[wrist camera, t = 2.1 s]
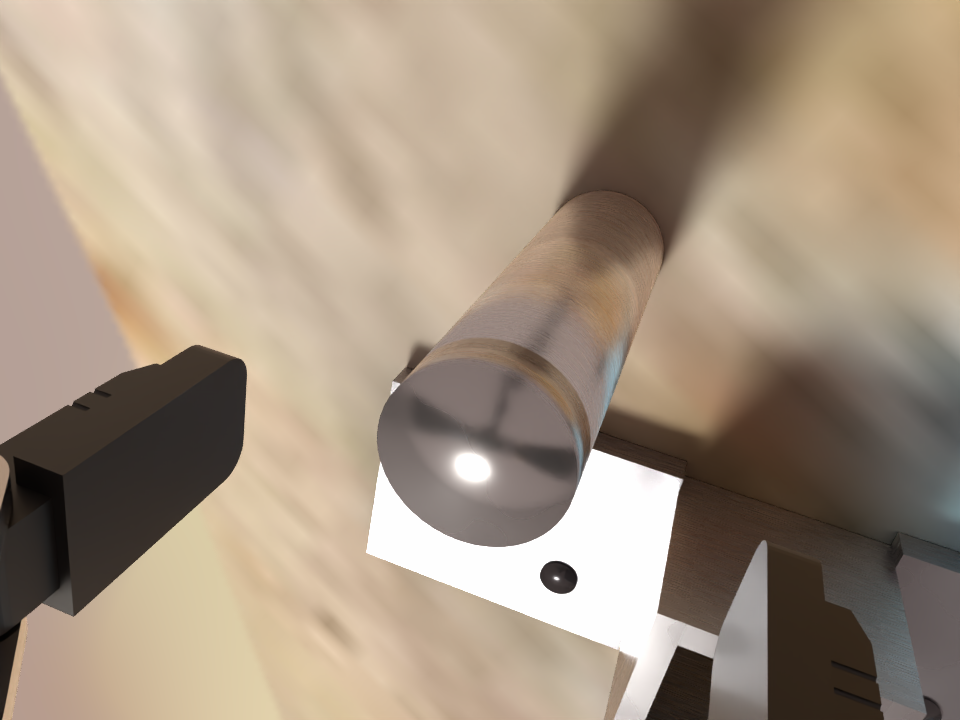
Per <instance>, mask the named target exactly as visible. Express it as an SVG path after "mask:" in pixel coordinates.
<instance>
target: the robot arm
mask: <svg viewBox="0 0 960 720" xmlns="http://www.w3.org/2000/svg"><path fill="white" fill-rule="evenodd" d="M246 381H247V370H246V366H245V363H244V362H243V361H242V360H241V359H239V358H236V357H233V356H230V355H227V354H224V353H221V352H218V351H215V350H212V349H209V348H206V347H203V346H201V345H194V346H191V347H189V348H188V349H186V350H184V351H183V352H181V353H179V354H178V355H176V356H175V357H173V358H171V359H170V360H168V361H166V362H165V363H163V364H162V365H159V364H152V365H149V366H145V367H142V368H138V369H135V370H131V371H128V372H124V373H121V374H119V375H118V376H116V377H114V378H113V379H111V380H109V381H108V382H106V383H104V384H102V385H101V386H99V387H97V388H96V389H95V391H94V393H91V392H89V393H87V394H85V395H84V396H82V397H80V398H79V399H77V400H75V401H74V402H73V405H72V406H69V405H67V406H65V407H63V408H62V409H60V410H58V411H57V412H55V413H53V414H52V415H50V416H48V417H46V418H45V419H43V420H41V421H40V422H38V423H36V424H35V425H33V426H31V427H30V428H28V429H26V430H25V431H23V432H21V433H19V434H18V435H16V436H14V437H13V438H11V439H9V440H8V441H6V442H4V443H3V444H1V445H0V720H12V715H13V710H14V704H15V698H16V692H17V687H18V682H19V676H20V671H21V665H22V659H23V654H24V648H25V643H26V637H27V628H28V625H27V615H28V614H29V613H31V612H32V611H33V610H34V609H35V608H37V607H38V606H39V605H40V604H41V603H43V604H46V605H48V606H50V607H53V608H55V609H57V610H59V611H62V612H64V613H67V614H69V615H71V616H73V617H74V616H75V615H76V614H77V613H78V612H79V611H80V610H82V609H83V608H84V607H85V606H86V605H87V604H88V603H89V602H91V601H92V600H93V599H94V598H95V597H96V596H97V595H98V594H99V593H101V592H102V591H103V590H104V589H105V588H106V587H107V586H108V585H109V584H111V583H112V582H113V581H114V580H115V579H116V578H117V577H118V576H119V575H120V574H122V573H123V572H124V571H125V570H126V569H127V568H128V567H129V566H130V565H132V564H133V563H134V562H135V561H136V560H137V559H138V558H139V557H140V556H142V555H143V554H144V553H145V552H146V551H147V550H148V549H149V548H151V547H152V546H153V545H154V544H155V543H156V542H157V541H158V540H159V539H160V538H162V537H163V536H164V535H165V534H166V533H167V532H168V531H169V530H170V529H172V527H174V526H175V525H176V524H177V523H178V522H179V521H180V520H182V519H183V518H184V517H185V516H186V515H187V514H188V513H189V512H190V511H192V510H193V509H194V508H195V507H196V506H197V505H198V504H199V503H200V502H202V501H203V500H204V499H205V498H206V497H207V496H208V495H209V494H210V493H212V492H213V491H214V490H215V489H216V488H217V487H218V486H219V485H220V484H222V483H223V482H224V481H225V480H226V479H227V478H228V477H229V475H230V474H231V473H232V471H233V470H234V468H235V466H236V464H237V462H238V460H239V457H240V454H241V451H242V447H243V438H244V419H245V400H246ZM876 679H877V672H876V666H875V660H874V654H873V648H872V643H871V642H870V640H869V639H868V637H867V635H866V634H865V632H864V630H863V629H862V627H861V626H860V624H859V622H858V621H857V619H856V618H855V616H854V614H853V613H852V611H851V610H850V609H847V608H844V607H841V606H838V605H835V604H832V603H830V602H827V601H825V595H824V584H823V574H822V565H821V562H820V560H819V559H818V558H815V557H812V556H809V555H806V554H803V553H800V552H797V551H794V550H791V549H788V548H785V547H783V546H780V545H777V544H774V543H771V542H768V541H765V540H764V541H762V542H761V543H760V545H759V546H758V548H757V549H756V552H755V554H754V556H753V558H752V560H751V562H750V565H749V567H748V569H747V571H746V574H745V576H744V578H743V580H742V582H741V585H740V587H739V589H738V591H737V593H736V596H735V598H734V600H733V602H732V605H731V607H730V609H729V611H728V613H727V616H726V618H725V620H724V623H723V625H722V628H721V631H720V634H719V637H718V641H717V645H716V649H715V654H714V659H713V667H712V679H711V691H710V704H709V717H708V720H884V715H883V712H882V711H880V709H881V705H882V703H881V697H880V691H879V684H878V683H876Z"/></svg>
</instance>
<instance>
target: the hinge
mask: <svg viewBox="0 0 960 720" xmlns="http://www.w3.org/2000/svg"><path fill="white" fill-rule="evenodd" d="M412 371H413V370H412V369H409V368H405V369H404V370H403V371H402V372H401V373H400V374H399V375H398V376H397V377H396V378H395V379H394V380H393V383H392V390H391V394H392V393H393V392H394V391H395V390H396V388H397V387H398V386H399V385H400V384H401V383H402V382H403V381H404V380H405V379H406V377H407V376H408V375H409V374H410V373H411V372H412ZM686 462H687V461H684V460H681V459H678V458H675V457H672V456H669V455H666V454H663V453H660V452H657V451H654V450H651V449H648V448H645V447H642V446H639V445H636V444H633V443H630V442H627V441H624V440H621V439H618V438H615V437H612V436H609V435H606V434H603V433H600V432H598V435H597V438H596V440H595V443H594V446H593V448H592V451H591V453H590V456H589V459H588V461H587V464H586V467H585V469H584V472H583V475H582V477H581V480H580V483H579V485H578V488H577V491H576V493H575V496H574V498H573V501H572V503H571V506H570V508H569V510H568V511H567V513H566V514H565V516H564V517H563V519H562V520H561V521H560V522H559V523H558V524H557V525H556V526H555V527H554V528H553V529H552V530H550V531H549V532H548V533H546V534H545V535H543V536H541V537H540V538H538V539H535V540H533V541H531V542H528V543H525V544H521V545H517V546H511V547H483V546H477V545H472V544H467V543H464V542H461V541H458V540H455V539H453V538H451V537H448V536H446V535H444V534H442V533H440V532H438V531H437V530H435V529H433V528H432V527H430V526H429V525H427V524H426V523H424V522H423V521H422V520H420V519H419V518H418V517H417V516H416V515H415V514H413V513H412V512H411V511H410V510H409V509H408V508H407V507H406V506H405V504H404V503H403V502H402V501H401V500H400V498H399V497H398V496H397V494H396V493H395V491H394V490H393V488H392V487H391V485H390V483H389V481H388V479H387V477H386V475H385V473H384V471H383V468H382V465H381V462H380V468H379V475H378V481H377V488H376V494H375V501H374V507H373V514H372V521H371V527H370V534H369V540H368V547H367V553H369V554H372V555H374V556H377V557H380V558H382V559H385V560H387V561H390V562H392V563H395V564H398V565H400V566H403V567H405V568H408V569H410V570H413V571H416V572H418V573H421V574H423V575H426V576H429V577H431V578H434V579H436V580H439V581H441V582H444V583H447V584H449V585H452V586H454V587H457V588H460V589H462V590H465V591H467V592H470V593H472V594H475V595H478V596H480V597H483V598H485V599H488V600H490V601H493V602H496V603H498V604H501V605H503V606H506V607H509V608H511V609H514V610H516V611H519V612H521V613H524V614H527V615H529V616H532V617H534V618H537V619H540V620H542V621H545V622H547V623H550V624H552V625H555V626H558V627H560V628H563V629H565V630H568V631H570V632H573V633H576V634H578V635H581V636H583V637H586V638H589V639H591V640H594V641H596V642H599V643H601V644H604V645H607V646H609V647H612V648H614V649H617V650H618V649H619V646H620V643H621V646H620V651H619V655H618V660H617V664H616V669H615V673H614V678H613V682H612V687H611V691H610V696H609V700H608V705H607V709H606V714H605V718H604V720H708V717H709V704H710V691H711V679H712V667H713V659H714V654H715V649H716V645H717V641H718V637H719V634H720V631H721V628H722V625H723V623H724V620H725V618H726V616H727V613H728V611H729V609H730V607H731V605H732V602H733V600H734V598H735V596H736V593H737V591H738V589H739V587H740V585H741V582H742V580H743V578H744V576H745V574H746V571H747V569H748V567H749V565H750V562H751V560H752V558H753V556H754V554H755V552H756V549H757V548H758V546H759V545H760V543H761V542H762V541H764V540H765V541H768V542H771V543H774V544H777V545H780V546H783V547H785V548H788V549H791V550H794V551H797V552H800V553H803V554H806V555H809V556H812V557H815V558H818V559H819V560H820V562H821V565H822V574H823V584H824V595H825V601H827V602H830V603H832V604H835V605H838V606H841V607H844V608H847V609H850V610H851V611H852V613H853V614H854V616H855V618H856V619H857V621H858V622H859V624H860V626H861V627H862V629H863V630H864V632H865V634H866V635H867V637H868V639H869V640H870V642H871V643H872V648H873V654H874V660H875V666H876V672H877V679H876V683H878V684H879V691H880V697H881V703H882V705H881V709H880V711H882V712H883V715H884V720H960V553H959V552H956V551H953V550H950V549H947V548H944V547H941V546H938V545H935V544H932V543H929V542H926V541H923V540H920V539H917V538H914V537H911V536H908V535H905V534H902V533H899V532H898V534H897V535H896V537H895V539H894V541H893V542H892V544H891V546H890V545H887V544H885V543H882V542H879V541H876V540H873V539H870V538H867V537H864V536H861V535H858V534H855V533H852V532H849V531H846V530H843V529H840V528H837V527H834V526H831V525H828V524H825V523H822V522H819V521H817V520H814V519H811V518H808V517H805V516H802V515H799V514H796V513H793V512H790V511H787V510H784V509H781V508H778V507H775V506H772V505H769V504H766V503H763V502H760V501H757V500H754V499H751V498H749V497H746V496H743V495H740V494H737V493H734V492H731V491H728V490H725V489H722V488H719V487H716V486H713V485H710V484H707V483H704V482H701V481H698V480H695V479H692V478H689V477H686V476H684V474H685V468H686ZM621 641H622V642H621Z"/></svg>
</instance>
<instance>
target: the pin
mask: <svg viewBox="0 0 960 720" xmlns="http://www.w3.org/2000/svg"><path fill="white" fill-rule="evenodd" d="M663 253H664V246H663V239H662V234H661V231H660V228H659V226H658V224H657V222H656V220H655V219H654V217H653V216H652V214H651V213H650V212H649V211H648V210H647V209H646V208H645V207H644V206H643V205H642V204H641V203H639V202H638V201H636V200H635V199H633V198H631V197H629V196H627V195H624V194H622V193H618V192H614V191H604V190H602V191H592V192H587V193H584V194H581V195H579V196H577V197H575V198H573V199H571V200H570V201H568V202H567V203H566V204H565V205H564V206H562V207H561V208H560V209H559V211H558V212H557V213H556V214H555V215H554V216H553V217H552V218H551V219H550V220H549V222H548V223H547V224H546V225H545V226H544V227H543V228H542V229H541V230H540V231H539V233H538V234H537V235H536V236H535V237H534V238H533V239H532V240H531V241H530V242H529V243H528V245H527V246H526V247H525V248H524V249H523V250H522V251H521V252H520V253H519V254H518V256H517V257H516V258H515V259H514V260H513V261H512V262H511V263H510V264H509V265H508V267H507V268H506V269H505V270H504V271H503V272H502V273H501V274H500V275H499V276H498V278H497V279H496V280H495V281H494V282H493V283H492V284H491V285H490V286H489V287H488V289H487V290H486V291H485V292H484V293H483V294H482V295H481V296H480V297H479V298H478V299H477V301H476V302H475V303H474V304H473V305H472V306H471V307H470V308H469V309H468V310H467V312H466V313H465V314H464V315H463V316H462V317H461V318H460V319H459V320H458V321H457V323H456V324H455V325H454V326H453V327H452V328H451V329H450V330H449V331H448V332H447V334H446V335H445V336H444V337H443V338H442V339H441V340H440V341H439V342H438V343H437V344H436V346H435V347H434V348H433V349H432V350H431V351H430V352H429V353H428V354H427V355H426V357H425V358H424V359H423V360H422V361H421V362H420V363H419V364H418V365H417V366H416V368H415V369H414V370H413V371H412V372H411V373H410V374H409V375H408V376H407V377H406V379H405V380H404V381H403V382H402V383H401V384H400V385H399V386H398V387H397V388H396V390H395V391H394V392H393V393H392V394H391V396H390V397H389V399H388V400H387V402H386V404H385V405H384V408H383V410H382V413H381V415H380V419H379V424H378V432H377V445H378V453H379V457H380V462H381V465H382V468H383V471H384V473H385V475H386V477H387V479H388V481H389V483H390V485H391V487H392V488H393V490H394V491H395V493H396V494H397V496H398V497H399V498H400V500H401V501H402V502H403V503H404V504H405V506H406V507H407V508H408V509H409V510H410V511H411V512H412V513H413V514H415V515H416V516H417V517H418V518H419V519H420V520H422V521H423V522H424V523H426V524H427V525H429V526H430V527H432V528H433V529H435V530H437V531H438V532H440V533H442V534H444V535H446V536H448V537H451V538H453V539H455V540H458V541H461V542H464V543H467V544H472V545H477V546H483V547H511V546H517V545H521V544H525V543H528V542H531V541H533V540H535V539H538V538H540V537H541V536H543V535H545V534H546V533H548V532H549V531H550V530H552V529H553V528H554V527H555V526H556V525H557V524H558V523H559V522H560V521H561V520H562V519H563V517H564V516H565V514H566V513H567V511H568V510H569V508H570V506H571V503H572V501H573V498H574V496H575V493H576V491H577V488H578V485H579V483H580V480H581V477H582V475H583V472H584V469H585V467H586V464H587V461H588V459H589V456H590V453H591V451H592V448H593V446H594V443H595V440H596V438H597V435H598V432H599V430H600V427H601V424H602V422H603V419H604V416H605V414H606V411H607V408H608V406H609V403H610V400H611V398H612V395H613V393H614V390H615V387H616V385H617V382H618V379H619V377H620V374H621V371H622V369H623V366H624V363H625V361H626V358H627V355H628V353H629V350H630V347H631V345H632V342H633V339H634V337H635V334H636V332H637V329H638V326H639V324H640V321H641V318H642V316H643V313H644V310H645V308H646V305H647V302H648V300H649V297H650V294H651V292H652V289H653V286H654V284H655V281H656V279H657V276H658V273H659V271H660V268H661V265H662V261H663Z"/></svg>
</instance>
